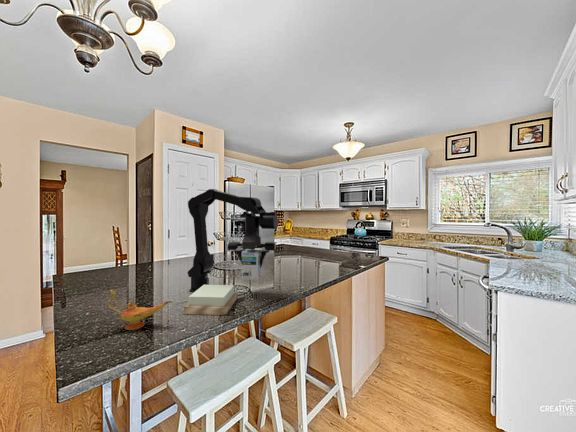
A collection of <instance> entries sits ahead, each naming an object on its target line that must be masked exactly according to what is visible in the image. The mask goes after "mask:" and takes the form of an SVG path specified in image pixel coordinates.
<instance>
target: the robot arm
mask: <svg viewBox="0 0 576 432" xmlns="http://www.w3.org/2000/svg"><path fill="white" fill-rule="evenodd" d="M215 200H217V201H220V202H223V203H228V204H230V205H234V206H237V207H238V208H240V209H241V210H243V213H241V214H240V215H239V217H240V218H244V228H245V229H244V236H243V237H242V240H241V241H236V240H235V241H231V242H229V243H228V244H227V250H228V251H233V252H234V253H236V254H237V256H238V257H239V260H240V263H241V264H242V252H243V251H244V250H246V249H251V250H253V249H262V251H261V261H260V267H262V268H263V264H264V260H265V257H266V256H267V253H268V254H269V252H270V251H275V250H276V248H277V244H276V241H266V242H264V243H262V238H261V236H260V227H261V229H262V230H277V229H278V227H279V218H278V215H277V211H271V212H266V210H265V208H264V207H263V206H262V202H261V200H260V198H258V197H252V196H251V197H250V196H240V195H236V194H232V193H229V192H225V191H221V190H218V189H215V188H209V189H208V190H206V191H204V192H202V193H200V194H198V195H196V196H194V197H193V196H192V197H191V198H190V199H189V200H188V201H187V208H188V212H189V214H190V216H191V217H192V219H193V227H194V228H193V230H194V239H195V241H194V242H195V254H194V258H193V261H192V267H191V268H190V269H188V271H187V276H188V277H189V278H190V289H189V292H195V291H196V290H198V289H199V288H200V287H202V286H203V285H210V279H209V277H208V276H209V275H208V274H210V273H211V270H212V268H214V264H215V258H214V257H215V256H214V254H213V253H212V254H211V253H210V251H209V246H208V235H207V233H208V231H207V223H206V218H207V215H208V213H209V206H210V205H212V204H213V203H214V202H215Z"/></svg>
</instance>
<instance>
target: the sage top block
mask: <svg viewBox="0 0 576 432" xmlns="http://www.w3.org/2000/svg"><path fill="white" fill-rule="evenodd" d="M234 292H235V284H234V285H233V284H209V285H203V286H202V287H200V288H199V289H198V290H196V291H193V292H192V293H191V294H190V295H188V301H187V304H188V306H224V305H225V304H226V303H227V302H228V300H229V299H230V298H231V297H232V295H233V294H234Z"/></svg>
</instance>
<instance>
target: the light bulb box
mask: <svg viewBox="0 0 576 432" xmlns="http://www.w3.org/2000/svg"><path fill="white" fill-rule="evenodd" d="M262 250H263V249H262V248H255V249H253V250H251V249H246V250H245V249H244V251H243V252H242V263H241V280H247V281H250V280H251V281H259V279H260V277H261V276H262V275H263V274H262V273H263V271H262V270H263V266H262V267H260V261H261V251H262Z"/></svg>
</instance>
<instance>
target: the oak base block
mask: <svg viewBox="0 0 576 432" xmlns="http://www.w3.org/2000/svg"><path fill="white" fill-rule="evenodd" d="M238 298H239V297H238V292H237V291H236V292H235V291H234V294H233V295H232V297H231V298H230V299H229V300H228V302H227V303H226V304H225V305H224V306H188V303H187V304H186V305H184V306H183V314H184V315H213V316H215V315H216V316H226V315H228V313H229V311H230V310H231V308H232V307H233V306H234V304H235V303H236V301H237V300H238Z"/></svg>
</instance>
